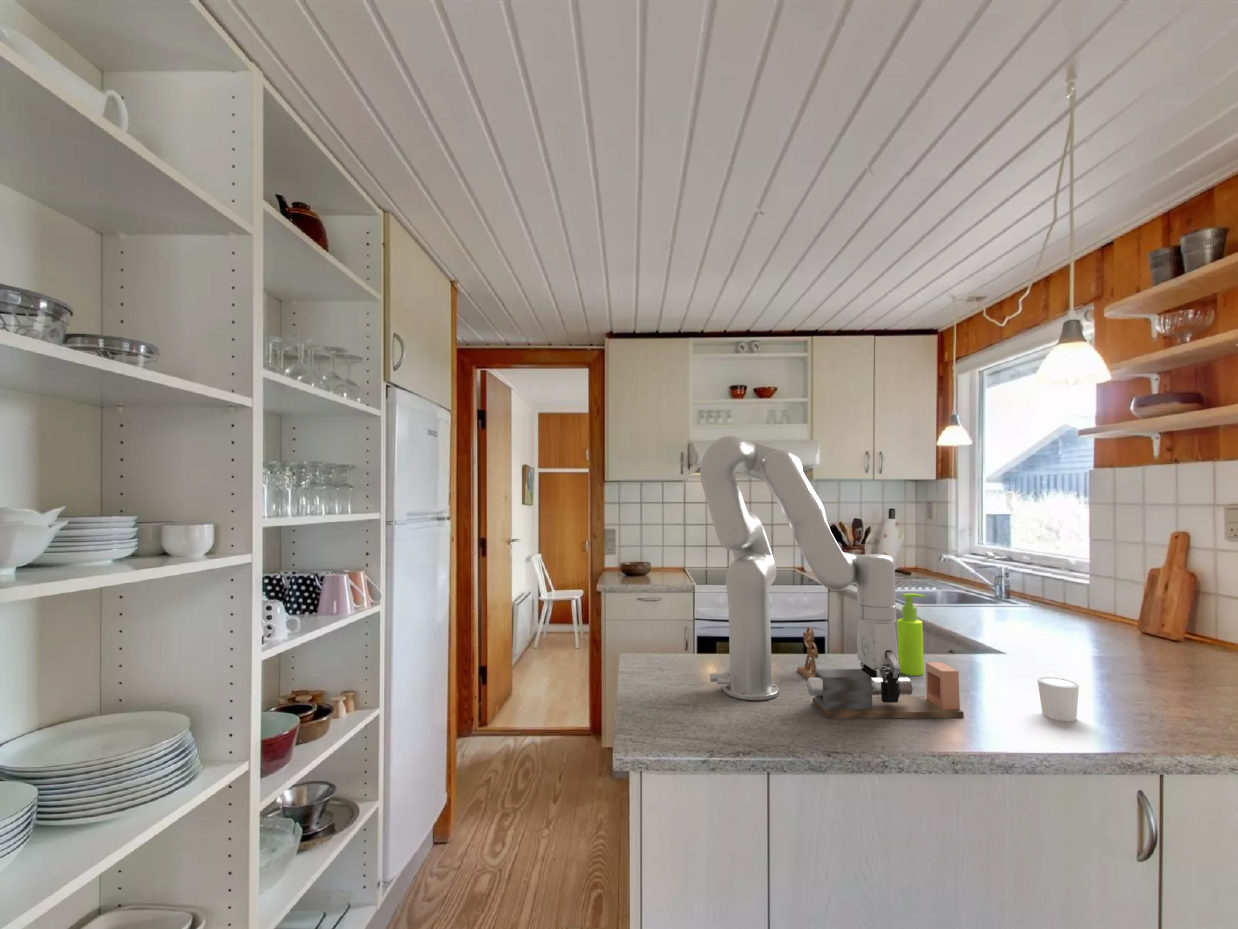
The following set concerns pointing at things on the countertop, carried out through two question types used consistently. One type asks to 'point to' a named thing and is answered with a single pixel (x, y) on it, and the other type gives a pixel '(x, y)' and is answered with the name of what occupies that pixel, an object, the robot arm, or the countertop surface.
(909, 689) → the steel tube
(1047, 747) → the countertop surface
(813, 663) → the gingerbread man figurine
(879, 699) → the stand
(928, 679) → the socket block
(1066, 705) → the white cup
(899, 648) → the soap dispenser
